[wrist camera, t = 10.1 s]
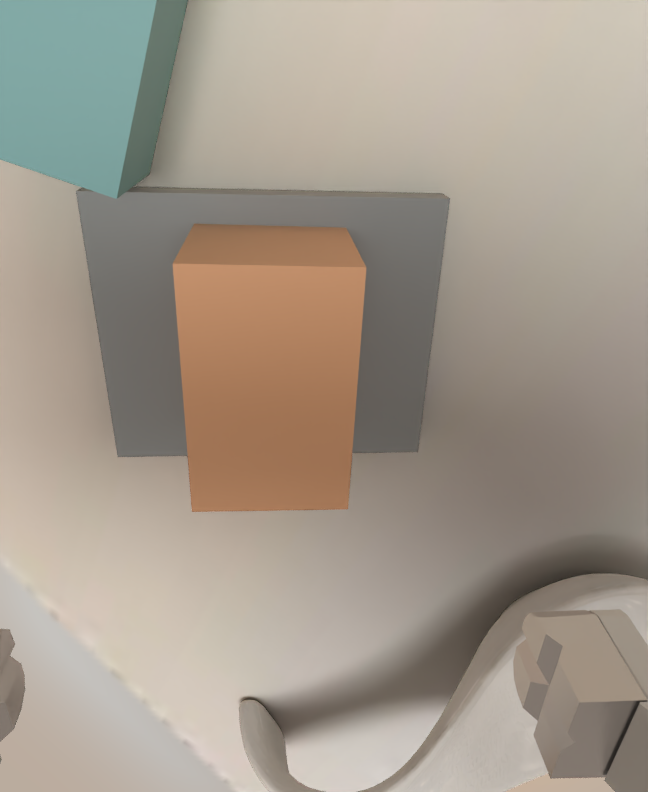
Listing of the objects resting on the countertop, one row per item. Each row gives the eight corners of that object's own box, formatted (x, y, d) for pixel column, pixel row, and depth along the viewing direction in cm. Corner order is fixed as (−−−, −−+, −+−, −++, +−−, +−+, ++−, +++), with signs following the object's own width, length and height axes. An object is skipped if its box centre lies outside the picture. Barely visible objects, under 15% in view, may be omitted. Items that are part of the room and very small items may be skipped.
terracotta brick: (346, 227, 20) (366, 267, 16) (334, 432, 23) (347, 509, 19) (194, 223, 19) (172, 263, 15) (206, 432, 23) (192, 511, 19)
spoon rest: (653, 502, 28) (763, 623, 22) (678, 651, 34) (772, 782, 27) (208, 659, 31) (192, 807, 25) (297, 773, 36) (303, 918, 30)
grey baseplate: (442, 193, 20) (449, 198, 20) (412, 439, 25) (417, 452, 24) (84, 186, 19) (75, 190, 19) (123, 443, 24) (117, 456, 23)
